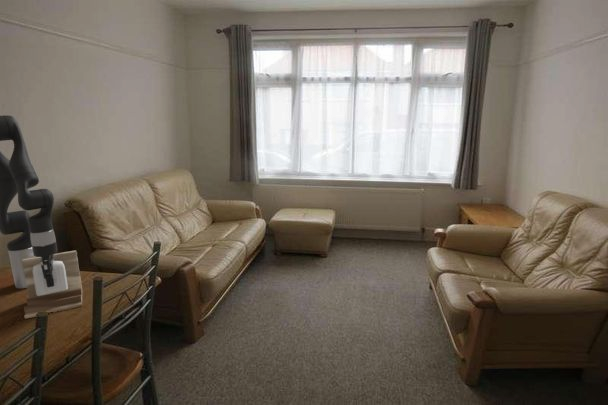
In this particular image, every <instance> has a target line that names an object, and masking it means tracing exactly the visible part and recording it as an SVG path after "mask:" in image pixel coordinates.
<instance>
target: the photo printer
mask: <svg viewBox="0 0 608 405" xmlns="http://www.w3.org/2000/svg"><path fill="white" fill-rule="evenodd" d="M53 269H54V270H53V271H52V273H53V280H54V286H53V287H47V283H46V279H44V275H43V272H42V268H41V264H38V265H35V266H34V267H33V278H34V283H35V289H36V295H37V296H41V295H46V294H51V293H55V292H60V291H65V290H67V289H68V284H67V278H66V271H65V266H64V264H63V262H62V261H53ZM49 274H50V273H46V275H49Z"/></svg>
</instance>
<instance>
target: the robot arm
mask: <svg viewBox="0 0 608 405" xmlns="http://www.w3.org/2000/svg"><path fill="white" fill-rule="evenodd" d="M2 141H3V142H4V141H5V142H6V141H12V143H13V150H12V154H11V156H10V159H9V158H7V157H6V156H5V154H3V153H2V151H0V233H1V234H2V235H6V236H7V235H14V234H18V233H19V234H21V235H19V236H18V237H16V238H15V239H12V240H10V241H8V242H7V244H6V247H7V248H6V249H7V253H8V257H9V262H10V266H11V267H10V268H11V271H12V275H13V276H12V277H13V281H14V287H15V288H16V289H27V285H26V280H25V275H24V270H23V265H22V259H25V258H32V257H42V259H41V261H40V264H41V268H42V272H43V275H44V279H46V283H47V287H53V286H54V280H53V273H52V271H53V270H54V269H53V261H54V257H53V254H57V253H58V244H57V239H56V235H55V231H54V227H53V226H54V225H53V220H52V215H53V206H54V200H55V196H54V195H53V193H52V191H51V190H49V189H48V188H39V189H32V190H29V189H31V188H34V187H36V186H38V184H39V182H40V180H39V177H38V175H37V172H36V170H35V168H34V167H33V166H34V165H33V164H32V162H31V160H30V159H31V158H30V156H29V153H28V150H27V146H26V143H25V140H24V136H23V134H22V131H21V127H20V124H19V123H18V121H17V119H16V118H15V117H14V116H12V115H10V114H8V115H6V114H3V115H0V142H2ZM16 196H17V203H18V205H19V207H20V208H21V209H22V210H17V211H10V212H9V211H8V209H9V207H10V204H11V203H12V201H13V200H14V198H15V197H16ZM34 210H40V211H39V212H38V213H36V214H33V215H32V216H31V215H30V213H29V212H28V211H34ZM46 273H50V274H49V275H46Z"/></svg>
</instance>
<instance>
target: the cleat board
mask: <svg viewBox="0 0 608 405" xmlns="http://www.w3.org/2000/svg"><path fill="white" fill-rule="evenodd" d="M53 257H54V261H62V262H63V264H64V266H65V271H66V278H67V284H68V289H67V290H65V291H60V292H55V293H51V294H46V295H41V296H37V295H36V289H35V283H34V278H33V267H34V266H35V265H38V264H40V261H41V259H42V257H32V258H25V259H22V265H23V270H24V275H25V280H26V285H27V288H26V290H27V294H28V295H27V296H28V298H27V299H26V304H27V305H26V306H23V309H24V310H23V311H24V319H29V318H35V317H37V316H36V314H37V313H38V312H40V311H46V312H53V313H57V311H58V312H61V311H66V310H67V311H68V310H70V309H75V308H80V307H82V306H83V286H82V278H81V274H80V268H79V267H80V266H79V259H78V252H77V250H71V251H64V252H57V253H55V254H53Z"/></svg>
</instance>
